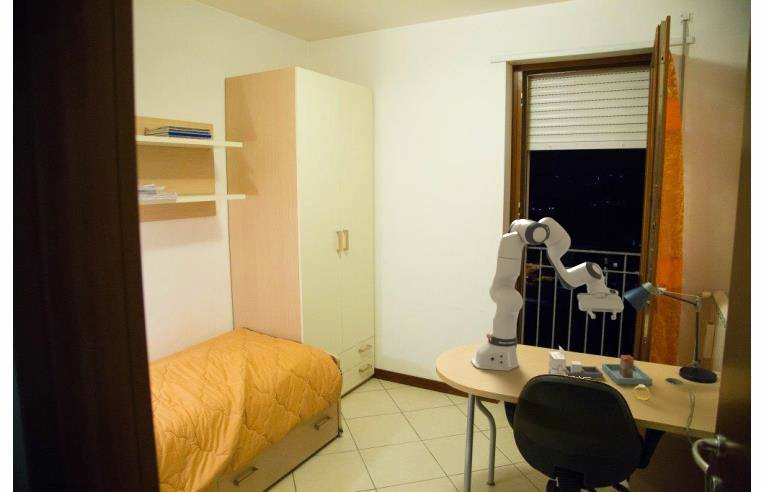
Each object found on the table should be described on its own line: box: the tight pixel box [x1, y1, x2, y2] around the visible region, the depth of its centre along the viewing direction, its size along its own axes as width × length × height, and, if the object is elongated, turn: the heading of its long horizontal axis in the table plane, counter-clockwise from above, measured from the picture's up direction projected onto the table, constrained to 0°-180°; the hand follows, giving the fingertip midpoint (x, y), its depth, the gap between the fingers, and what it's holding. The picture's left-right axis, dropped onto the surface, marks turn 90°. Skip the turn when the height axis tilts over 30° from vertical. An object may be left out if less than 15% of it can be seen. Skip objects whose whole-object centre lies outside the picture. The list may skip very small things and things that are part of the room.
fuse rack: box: [565, 365, 604, 379], centre depth 217 cm, size 15×8×2 cm, turn 86°
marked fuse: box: [619, 354, 635, 378], centre depth 213 cm, size 4×4×9 cm
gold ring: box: [632, 384, 651, 401], centre depth 193 cm, size 6×3×6 cm, turn 57°
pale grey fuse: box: [570, 360, 583, 373], centre depth 216 cm, size 4×4×6 cm
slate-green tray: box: [601, 363, 653, 387], centre depth 213 cm, size 15×17×3 cm
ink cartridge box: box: [547, 345, 567, 376], centre depth 211 cm, size 9×5×15 cm, turn 179°
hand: (603, 318), depth 226 cm, fingers open, 8 cm apart
